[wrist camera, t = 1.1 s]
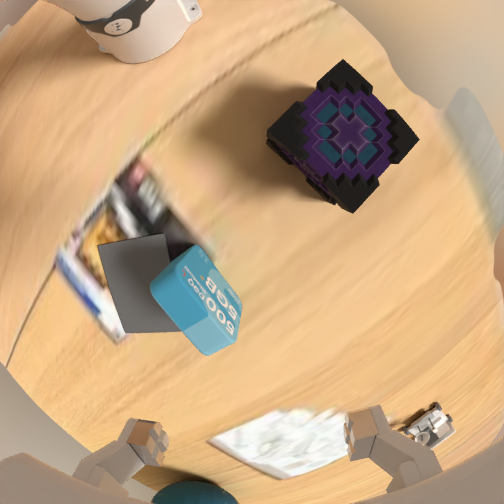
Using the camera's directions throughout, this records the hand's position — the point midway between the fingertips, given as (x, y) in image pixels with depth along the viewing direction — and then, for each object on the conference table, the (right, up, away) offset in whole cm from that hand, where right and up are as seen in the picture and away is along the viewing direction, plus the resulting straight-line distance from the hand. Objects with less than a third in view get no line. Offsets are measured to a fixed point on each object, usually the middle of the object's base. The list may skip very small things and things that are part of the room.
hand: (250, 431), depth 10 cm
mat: (-18, +2, +33) cm, 38 cm away
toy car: (+48, -39, +43) cm, 75 cm away
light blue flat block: (-7, +3, +33) cm, 33 cm away
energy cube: (+11, +23, +26) cm, 36 cm away
